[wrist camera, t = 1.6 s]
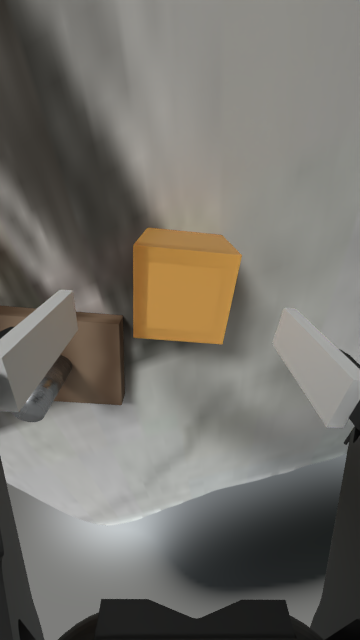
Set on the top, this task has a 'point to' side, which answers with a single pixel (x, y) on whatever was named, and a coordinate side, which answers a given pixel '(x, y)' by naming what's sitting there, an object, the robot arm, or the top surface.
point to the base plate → (87, 356)
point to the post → (45, 391)
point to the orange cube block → (183, 285)
